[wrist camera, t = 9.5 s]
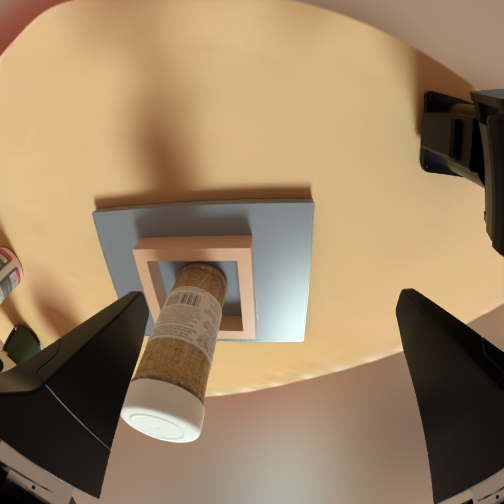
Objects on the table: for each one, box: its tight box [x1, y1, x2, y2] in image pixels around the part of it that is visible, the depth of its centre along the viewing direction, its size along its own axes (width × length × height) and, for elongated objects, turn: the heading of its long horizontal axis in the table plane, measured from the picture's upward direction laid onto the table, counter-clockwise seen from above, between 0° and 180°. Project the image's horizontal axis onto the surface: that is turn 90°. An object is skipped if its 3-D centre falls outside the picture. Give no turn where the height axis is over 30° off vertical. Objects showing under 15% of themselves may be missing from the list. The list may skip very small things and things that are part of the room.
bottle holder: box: [92, 199, 314, 342], centre depth 23 cm, size 18×14×3 cm
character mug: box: [0, 325, 41, 373], centre depth 28 cm, size 11×7×13 cm, turn 96°
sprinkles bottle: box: [120, 263, 228, 443], centre depth 18 cm, size 5×5×14 cm
